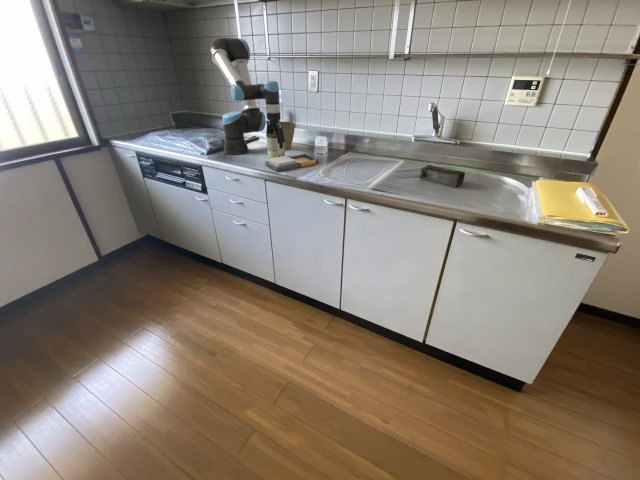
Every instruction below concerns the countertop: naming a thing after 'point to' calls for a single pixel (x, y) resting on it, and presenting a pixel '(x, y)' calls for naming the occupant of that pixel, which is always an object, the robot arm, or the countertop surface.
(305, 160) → the grey compartment tray
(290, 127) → the plant pot
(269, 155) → the coffee can
